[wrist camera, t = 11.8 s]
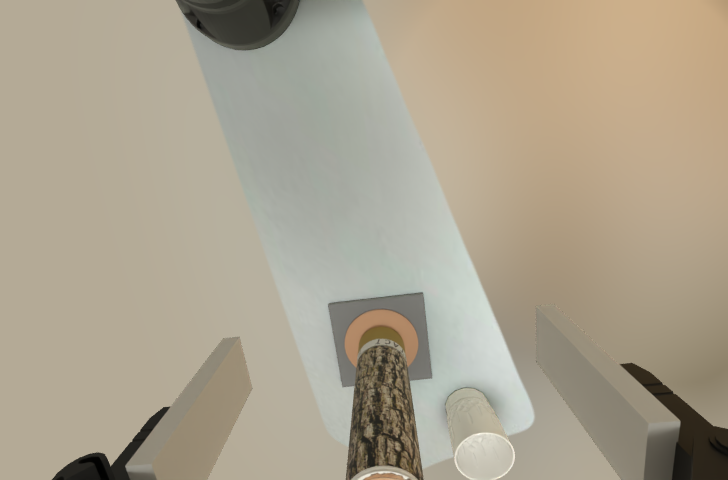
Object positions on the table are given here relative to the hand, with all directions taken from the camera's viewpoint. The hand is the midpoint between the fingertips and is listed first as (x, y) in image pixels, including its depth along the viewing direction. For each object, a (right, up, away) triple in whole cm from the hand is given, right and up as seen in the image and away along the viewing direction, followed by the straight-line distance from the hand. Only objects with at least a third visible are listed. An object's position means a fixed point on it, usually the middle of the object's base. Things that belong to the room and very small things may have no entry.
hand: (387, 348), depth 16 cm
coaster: (+2, -10, +39) cm, 40 cm away
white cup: (+15, -21, +41) cm, 49 cm away
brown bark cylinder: (+2, -11, +38) cm, 40 cm away
